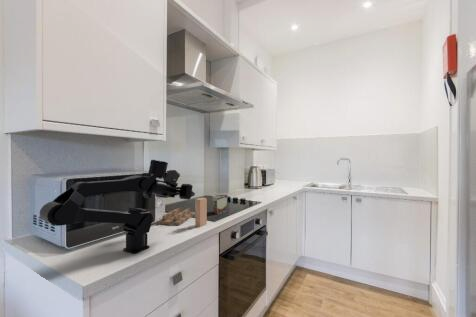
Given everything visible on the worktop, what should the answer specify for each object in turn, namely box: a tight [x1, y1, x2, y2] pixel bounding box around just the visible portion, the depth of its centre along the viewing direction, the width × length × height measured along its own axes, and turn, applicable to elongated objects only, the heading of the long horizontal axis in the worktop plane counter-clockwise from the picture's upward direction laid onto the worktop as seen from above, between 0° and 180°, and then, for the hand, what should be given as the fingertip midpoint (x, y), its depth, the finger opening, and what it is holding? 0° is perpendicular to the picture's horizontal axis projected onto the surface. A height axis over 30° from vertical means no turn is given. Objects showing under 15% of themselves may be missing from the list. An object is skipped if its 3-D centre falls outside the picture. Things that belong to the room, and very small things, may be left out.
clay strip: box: [194, 197, 208, 228], centre depth 108 cm, size 5×3×13 cm, turn 150°
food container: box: [211, 194, 229, 215], centre depth 135 cm, size 12×6×10 cm, turn 149°
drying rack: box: [156, 207, 195, 226], centre depth 119 cm, size 20×12×4 cm, turn 170°
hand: (186, 193), depth 102 cm, fingers open, 9 cm apart
